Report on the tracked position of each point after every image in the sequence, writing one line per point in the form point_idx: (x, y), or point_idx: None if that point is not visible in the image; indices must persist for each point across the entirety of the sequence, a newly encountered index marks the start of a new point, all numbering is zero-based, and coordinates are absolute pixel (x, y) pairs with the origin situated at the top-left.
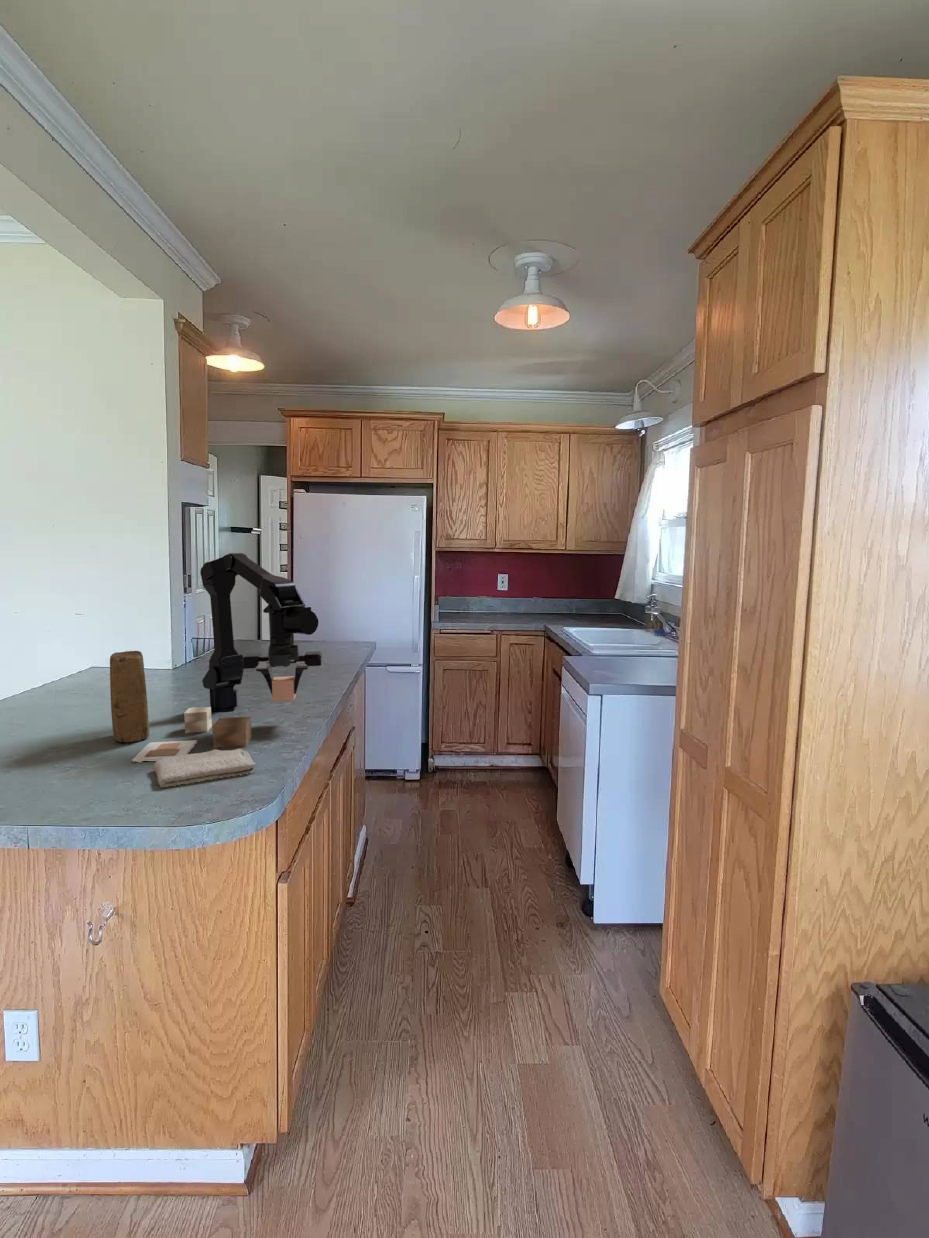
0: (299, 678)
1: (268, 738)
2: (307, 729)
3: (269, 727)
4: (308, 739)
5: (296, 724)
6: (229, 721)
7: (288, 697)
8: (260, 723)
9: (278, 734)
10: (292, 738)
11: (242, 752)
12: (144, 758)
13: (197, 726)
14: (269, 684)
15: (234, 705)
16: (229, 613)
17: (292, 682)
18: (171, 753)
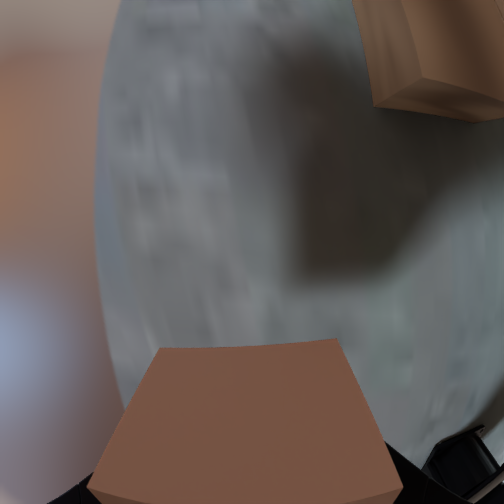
0: (57, 500)
1: (288, 68)
2: (125, 203)
3: (322, 259)
4: (109, 56)
5: (195, 298)
6: (476, 31)
7: (196, 362)
8: (369, 328)
9: (252, 124)
10: (173, 62)
11: None
12: None
13: None
14: (401, 471)
15: (433, 462)
16: None
17: (102, 467)
18: (500, 2)
